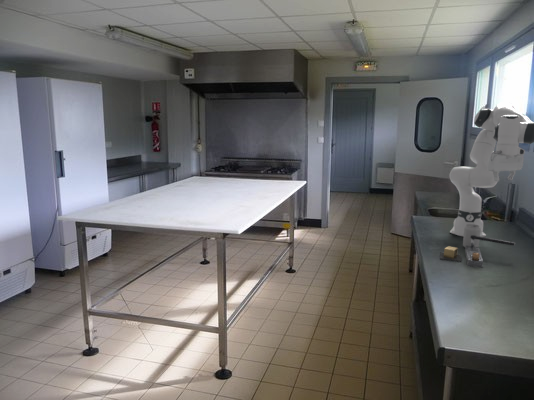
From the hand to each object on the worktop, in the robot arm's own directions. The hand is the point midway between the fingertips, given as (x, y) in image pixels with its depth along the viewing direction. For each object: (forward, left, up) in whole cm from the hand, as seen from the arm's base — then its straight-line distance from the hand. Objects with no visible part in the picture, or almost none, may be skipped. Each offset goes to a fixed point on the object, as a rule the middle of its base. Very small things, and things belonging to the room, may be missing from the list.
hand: (503, 180), depth 195 cm
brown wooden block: (+10, -20, -36) cm, 43 cm away
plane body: (+8, -10, -37) cm, 39 cm away
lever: (0, -2, -30) cm, 30 cm away
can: (-12, -10, -37) cm, 40 cm away
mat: (+10, -20, -37) cm, 43 cm away
